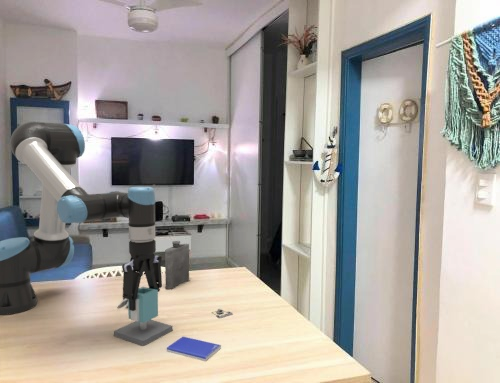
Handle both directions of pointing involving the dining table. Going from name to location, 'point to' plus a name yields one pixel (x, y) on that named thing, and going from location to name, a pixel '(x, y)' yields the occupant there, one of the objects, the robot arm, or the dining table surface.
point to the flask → (176, 265)
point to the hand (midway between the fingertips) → (143, 316)
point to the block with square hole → (146, 304)
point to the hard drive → (193, 348)
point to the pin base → (143, 331)
